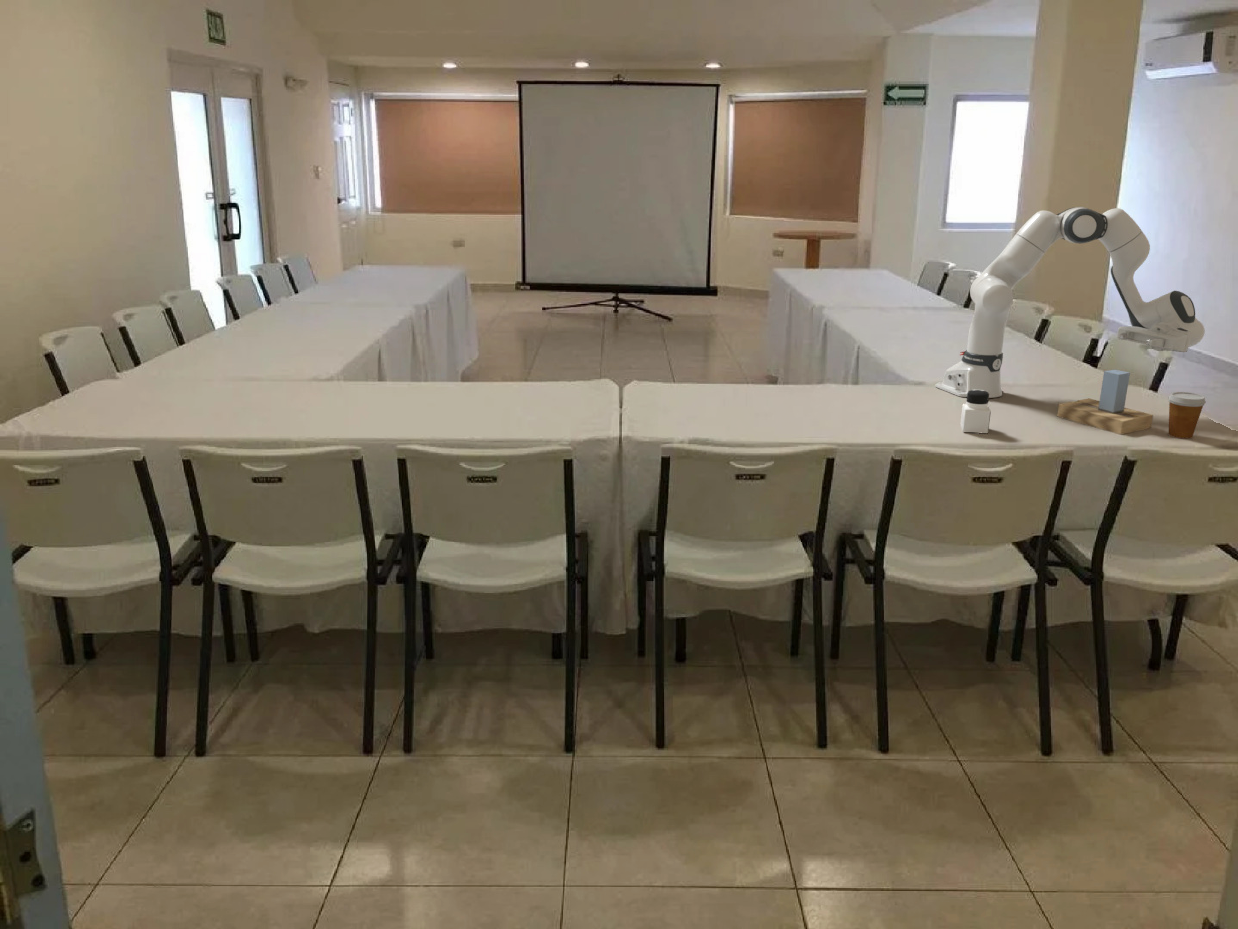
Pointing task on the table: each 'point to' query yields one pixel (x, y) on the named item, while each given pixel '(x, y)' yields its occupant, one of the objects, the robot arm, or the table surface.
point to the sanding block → (1113, 391)
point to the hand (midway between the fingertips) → (1134, 339)
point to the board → (1105, 417)
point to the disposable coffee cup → (1184, 413)
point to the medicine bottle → (976, 412)
